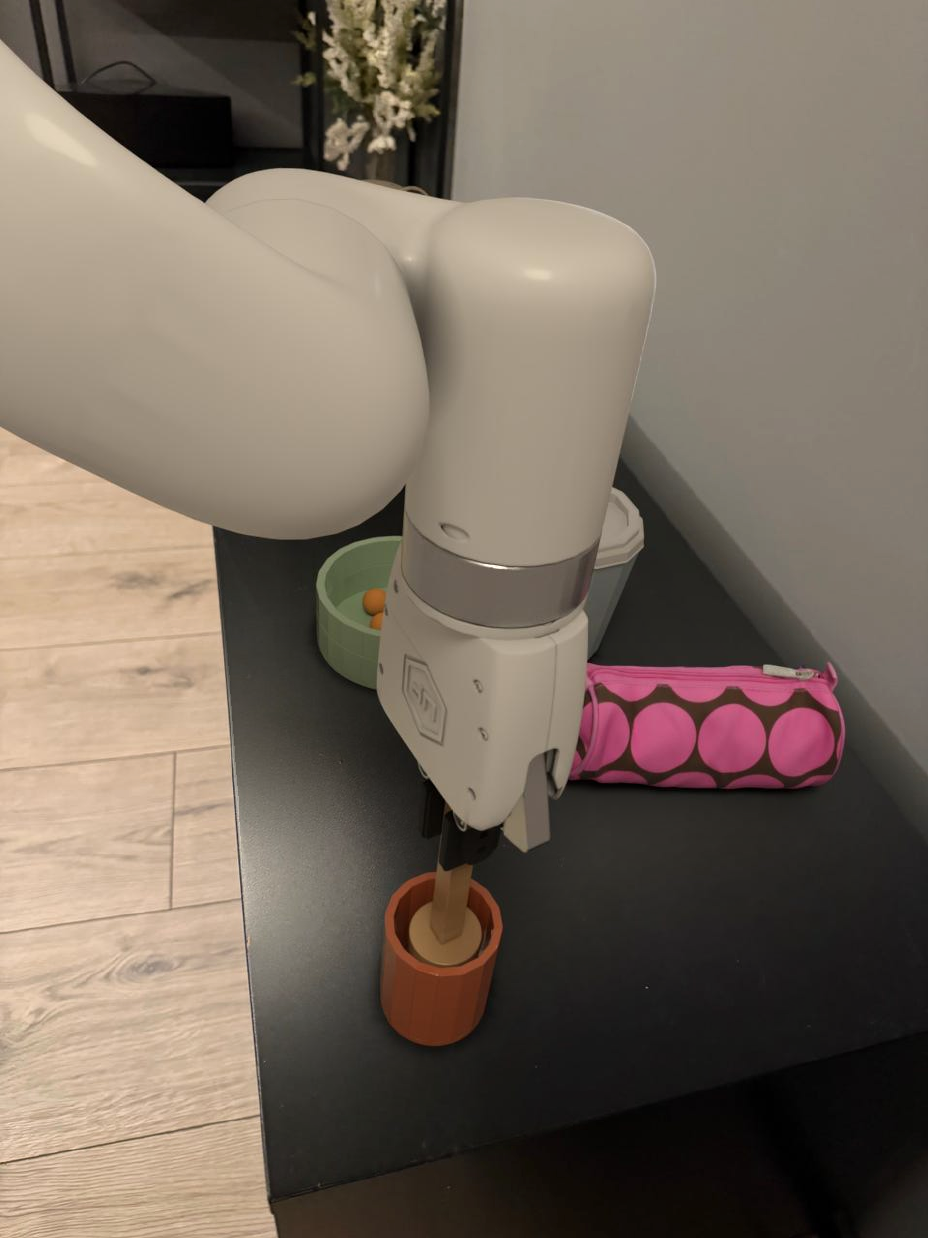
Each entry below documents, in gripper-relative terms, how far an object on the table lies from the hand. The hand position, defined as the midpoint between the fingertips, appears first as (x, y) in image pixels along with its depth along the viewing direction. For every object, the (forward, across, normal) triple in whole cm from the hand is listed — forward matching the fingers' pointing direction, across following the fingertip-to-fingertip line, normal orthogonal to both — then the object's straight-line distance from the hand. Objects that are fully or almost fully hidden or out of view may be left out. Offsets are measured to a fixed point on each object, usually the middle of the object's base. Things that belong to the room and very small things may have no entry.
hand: (457, 840), depth 47 cm
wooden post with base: (+11, 0, 0) cm, 11 cm away
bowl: (+15, -31, +13) cm, 37 cm away
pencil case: (+16, -8, +27) cm, 32 cm away
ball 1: (+14, -34, +13) cm, 39 cm away
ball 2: (+14, -31, +12) cm, 36 cm away
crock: (+15, 0, 0) cm, 15 cm away
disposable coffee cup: (+16, -24, +26) cm, 39 cm away
